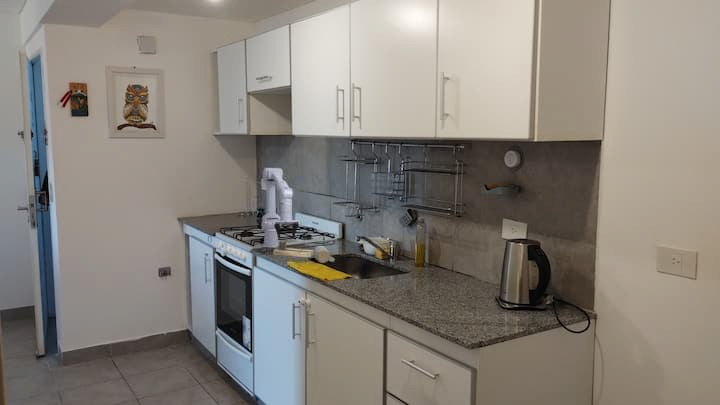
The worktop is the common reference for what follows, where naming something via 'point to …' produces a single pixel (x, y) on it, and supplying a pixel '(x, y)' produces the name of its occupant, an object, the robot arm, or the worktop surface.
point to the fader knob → (282, 245)
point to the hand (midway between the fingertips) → (286, 238)
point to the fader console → (293, 252)
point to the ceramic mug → (322, 254)
